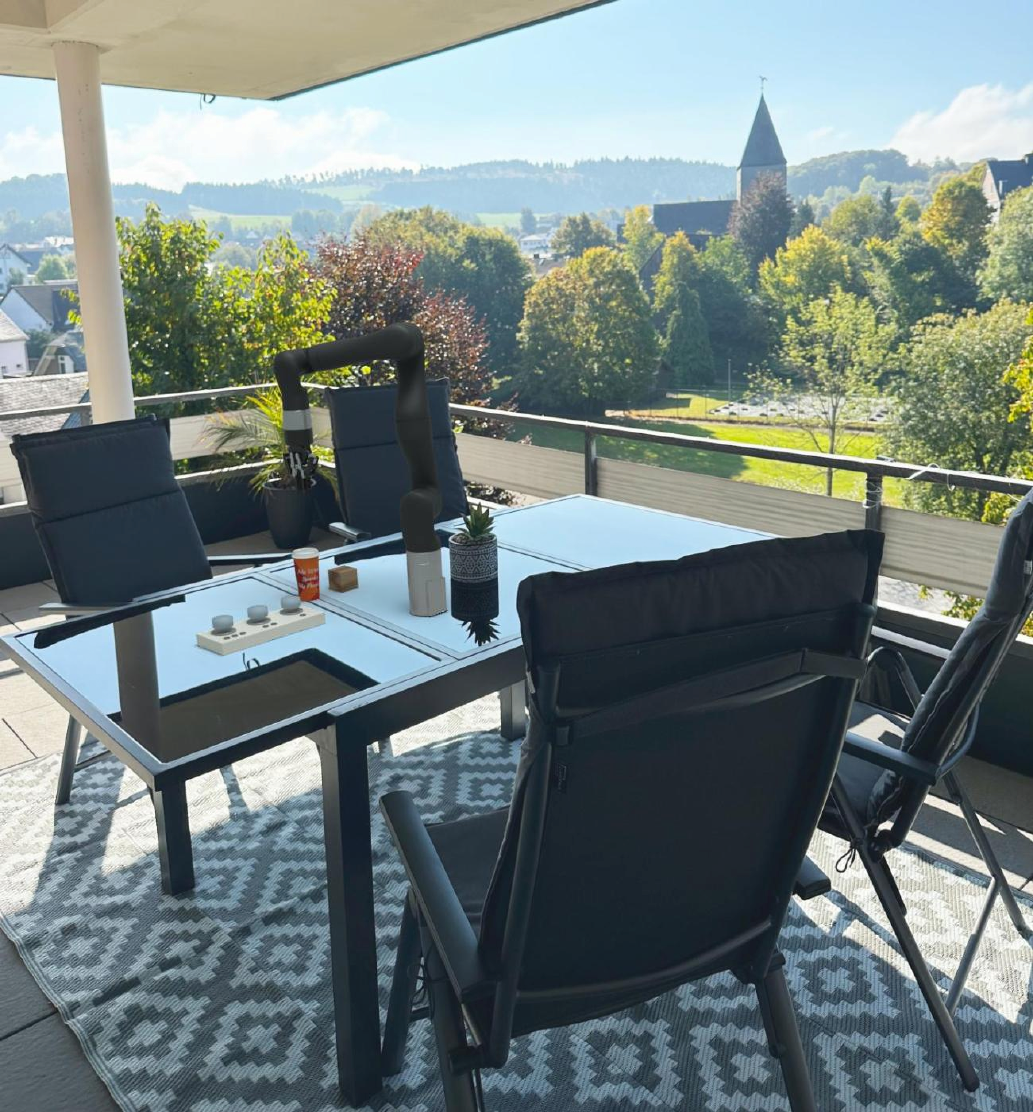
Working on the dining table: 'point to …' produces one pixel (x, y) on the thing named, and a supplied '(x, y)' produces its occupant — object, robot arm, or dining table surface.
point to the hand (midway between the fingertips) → (303, 490)
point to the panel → (259, 629)
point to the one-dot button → (290, 602)
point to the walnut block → (343, 579)
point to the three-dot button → (222, 622)
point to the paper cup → (307, 573)
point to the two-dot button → (257, 611)
